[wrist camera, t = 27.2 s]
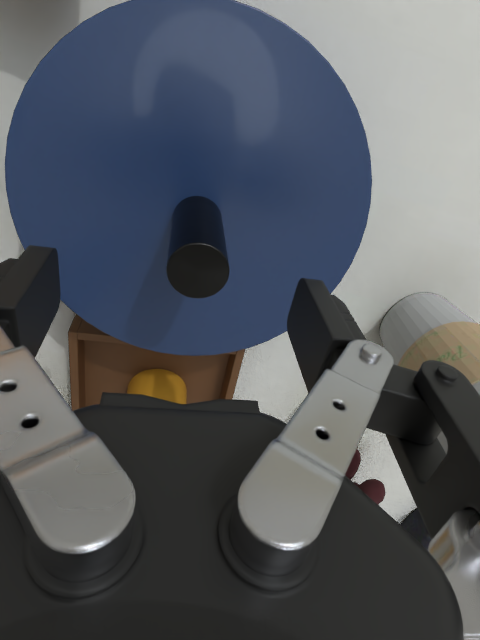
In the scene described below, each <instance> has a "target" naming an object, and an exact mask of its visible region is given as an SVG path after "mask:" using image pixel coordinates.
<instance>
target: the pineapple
mask: <svg viewBox="0 0 480 640" xmlns="http://www.w3.org/2000/svg"><path fill="white" fill-rule="evenodd" d="M127 394H143V395H147V396H151V397H155V398H159V399H163V400H167V401H171V402H175V403H179V404H186V398H187V389H186V385H185V383H184V381H183V380H182V379H181V378H180V377H179V376H178V375H177V374H175V373H173V372H171V371H168V370H164V369H149V370H145V371H142V372H140V373H138V374H137V375H135V376H134V377H133V378H132V379H131V381H130V382H129V385H128V389H127Z"/></svg>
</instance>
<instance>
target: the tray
mask: <svg viewBox="0 0 480 640" xmlns="http://www.w3.org/2000/svg"><path fill="white" fill-rule="evenodd" d="M68 340H69V362H70V384H71V406H72V411H74V410H77V409H80V408H83V407H87V406H91V405H96V404H100V400H101V396H102V392H108V393H125V394H127V389H128V385H129V382H130V381H131V379H132V378H133V377H134V376H135V375H137V374H138V373H140V372H142V371H145V370H149V369H164V370H168V371H171V372H173V373H175V374H177V375H178V376H179V377H180V378H181V379H182V380H183V381H184V383H185V385H186V389H187V398H186V404H189V403H196V402H203V401H210V400H217V399H232V398H233V394H234V390H235V386H236V382H237V379H238V375H239V371H240V367H241V363H242V360H243V356H244V352H245V349H242V350H238V351H235V352H230V353H223V354H217V355H203V356H187V355H173V354H167V353H160V352H155V351H151V350H147V349H143V348H140V347H137V346H134V345H131V344H129V343H126V342H123V341H121V340H119V339H117V338H114V337H112V336H110V335H108V334H106V333H104V332H102V331H101V330H99V329H98V328H96V327H94V326H93V325H91V324H90V323H88V322H86V321H85V320H84V319H82V318H81V317H80V316H79V315H77V314H76V315H75V317H74V320H73V322H72V324H71V326H70V329H69V331H68Z"/></svg>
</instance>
